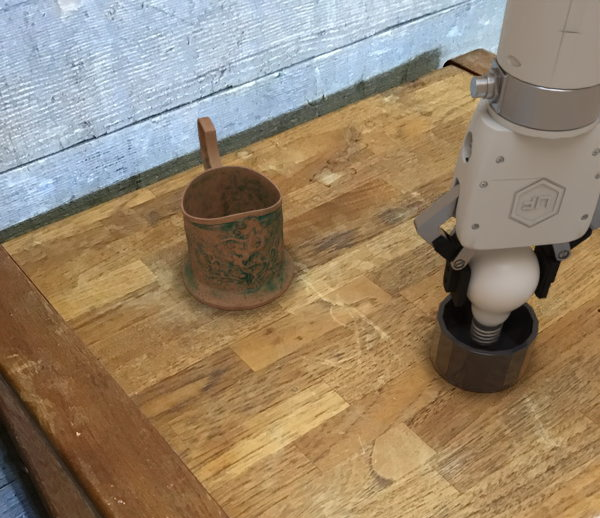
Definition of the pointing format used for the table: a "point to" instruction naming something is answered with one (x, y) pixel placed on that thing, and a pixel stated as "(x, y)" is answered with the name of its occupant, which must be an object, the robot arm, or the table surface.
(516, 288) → the lightbulb
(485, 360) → the stand
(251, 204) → the mug
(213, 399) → the table surface
